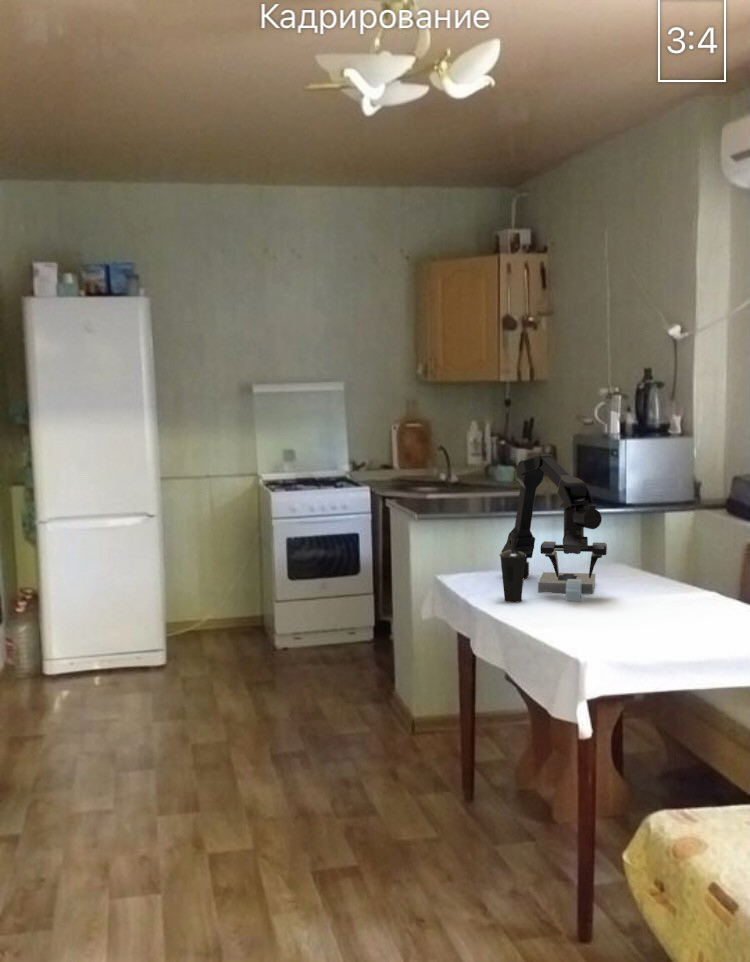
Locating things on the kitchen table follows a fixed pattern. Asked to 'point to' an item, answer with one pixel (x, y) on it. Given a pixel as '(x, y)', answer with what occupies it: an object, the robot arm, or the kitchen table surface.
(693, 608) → the kitchen table surface
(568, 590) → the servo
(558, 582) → the grey square base plate
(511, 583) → the drinking cup
